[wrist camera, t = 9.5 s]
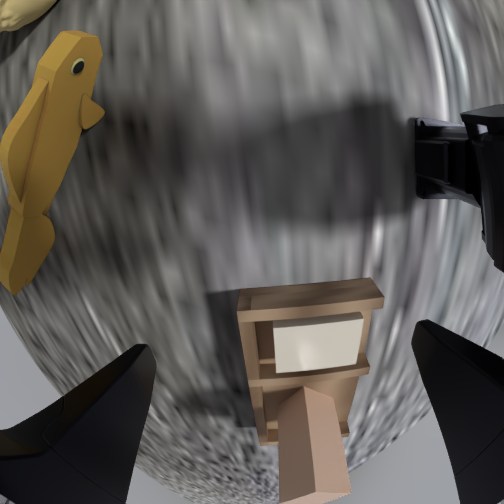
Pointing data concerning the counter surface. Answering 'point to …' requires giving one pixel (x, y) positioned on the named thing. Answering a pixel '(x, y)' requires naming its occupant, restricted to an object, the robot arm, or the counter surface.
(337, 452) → the clay bar
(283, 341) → the clay tile
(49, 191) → the decorative fish
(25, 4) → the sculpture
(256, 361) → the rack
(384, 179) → the counter surface
